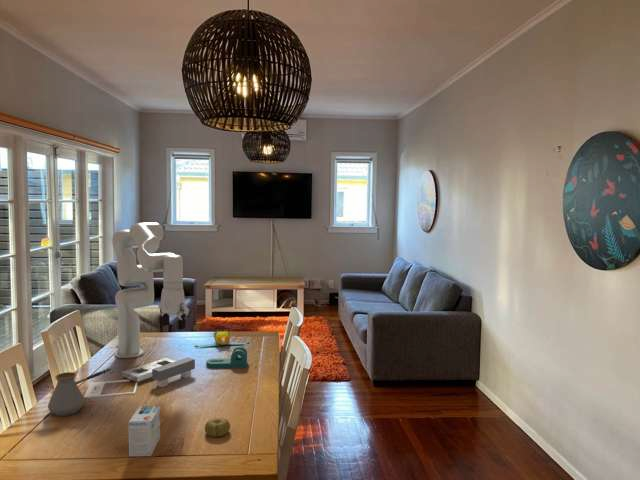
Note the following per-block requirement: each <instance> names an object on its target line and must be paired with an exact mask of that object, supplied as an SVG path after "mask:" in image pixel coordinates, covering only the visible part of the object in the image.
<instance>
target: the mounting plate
mask: <svg viewBox="0 0 640 480" xmlns="http://www.w3.org/2000/svg"><path fill="white" fill-rule="evenodd" d="M175 361H176V360H175V359H171V358H167V357H163V358H161V359H158V360H155V361H152V362H149V363H146V364H142V365H139V366H136V367H133V368H130V369H127V370H123V371H121V376H122V377H121V378H122V380H129V381H128V382H130V383H132V384H133V383H134V384H136V383H138V385H139V384H141V383H144V382H147V381H149V380H153V379H152V369H154V368H157V367H160V366H163V365H166V364H169V363H172V362H175Z"/></svg>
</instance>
